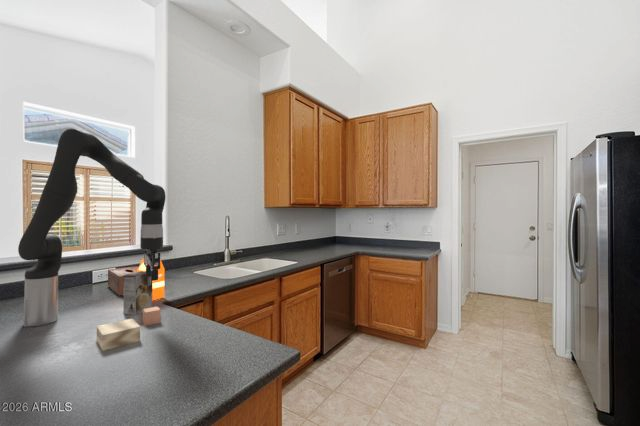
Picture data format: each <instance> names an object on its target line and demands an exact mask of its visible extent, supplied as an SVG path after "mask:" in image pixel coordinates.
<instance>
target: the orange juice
mask: <svg viewBox="0 0 640 426" xmlns="http://www.w3.org/2000/svg"><path fill="white" fill-rule="evenodd" d="M154 266H156V265H154ZM138 267H139V268H138V270H137V272H140V271H146V267H145V265H144V258H142V260H141V262H140V264H139V266H138ZM160 267H161V268H160V269H159V270H158V280H155V281H152V299H153V300H156V299H159V298H162V297H164V298H165V281H166V280H165V267H164V264H163V262H162V260H161V259H160ZM159 300H160V299H159ZM156 301H157V300H156Z"/></svg>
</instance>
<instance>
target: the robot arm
mask: <svg viewBox="0 0 640 426" xmlns="http://www.w3.org/2000/svg"><path fill="white" fill-rule="evenodd" d="M80 157H87V158H89V159H91V160H93V161H96V162H97V163H98V164H100V165H101V166H103V167H104V168H105V170H106V171H107V172H108V174H110V176H111V177H112V178H113V179H114V180H116V181H118V182H119V183H120V184H122V185H123V186H125V187H126V188H128V190H129V191H130V192H131V193H133V194H134V196H136V197H137V198H138V199H139V200H141V201H143V202H146V205H145V209H143V210H142V211H141V214H140V215H141V217H140V218H141V219H140V220H141V221H140V223H141V226H140V237H139V238H140V245H139V246H140V249H141V250H143V256H144V257H143V259H144V265H145V267H146V277H151V280H152V281H155V280H158V270H159V269H160V268H161V267H160V260H161V252H158V250H159V249H163V248H164V227H163V212H164V208H165V203H166V191H165V189H164V188H163V187H162V186H161V185H158V184H154V183H151V182H150V181H148V180H146V179H145V177H144V175H143V174H141V173H140V172H139V171H138V170H136V169H134V168H133V167H132V166H131V165H129V164H127V163H126V162H125V161H124V160H122V159H121V158H119V157H118V156H117V155H116V154H115V153H113V152H112V151H111V150H110V149H109V148H108V147H107V146H106V145H105V144H104V143H103V142H102V141H101V140H100V139H99V138H98V137H97V136H96V135H94V134H92V133H91V132H87V131H83V130H81V129H77V128H68V129H65V130H64V131H63V132H62V133H61V135H60V137H59V139H58V143H57V147H56V151H55V156H54V160H53V163H52V166H51V169H50V172H49V174H48V177H47V179H46V180H47V181H45V185H44V188H43V190H42V193H41V195H40V198H39V201H38V204H37V207H36V208H35V211H34V213H33V215H32V218H31V220H30V222H29V224H28V226H27V228H26V229H25V231H24V232H23V235H22V236H21V238H20V241H19V244H18V249H17V251H18V255H19V256H20V258H21V259H23V260H25V261H36V263H35V264H34V265H33V266H32V267H30V268H28V269H27V270H25V272H24V300H23V327H24V328H27V327H38V326H44V325H47V324H52V323H54V322H56V321H58V320H59V271H60V270H61V269H60V268H61V267H62V258H63V257H62V256H63V244H62V243H63V242H62V240H61V238H60V237H59V236H58V235H56V234H53V233H49V232H50V230H51V228H52V227H53V225H54V224H55V223H57V222H58V221H59V220H60V219H61V218H62V217H63V216H64V215H65V214H66V213H68V211H70V209H71V208H72V207H73V203H74V201H75V199H76V196H77V194H78V182H77V178H76V168H77V164H78V162H79V159H80ZM154 265H156V266H154Z"/></svg>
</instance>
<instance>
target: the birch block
mask: <svg viewBox="0 0 640 426" xmlns="http://www.w3.org/2000/svg"><path fill="white" fill-rule="evenodd" d="M140 341H141V325H140V324H138V323H137V322H136V320H135V319H133V318H128V319H124V320H119V321H115V322H110V323H106V324H100V325H96V342H97V344H98V346H99V348H100V349H101V351H102V352H104V351H107V349H108V350H111V349H114V347H115V348H118V347H117V346H119V347H121V345H122V346H126V345H129V344H132V343H134V344H135V343H136V342H140Z"/></svg>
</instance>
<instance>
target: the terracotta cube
mask: <svg viewBox="0 0 640 426" xmlns="http://www.w3.org/2000/svg"><path fill="white" fill-rule="evenodd" d="M159 323H161V308H160V307H158V306H153V307H151V308H146V309H143V312H142V324H143V325H144V326H145V327H146V326H149V325H156V324H159Z"/></svg>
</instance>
